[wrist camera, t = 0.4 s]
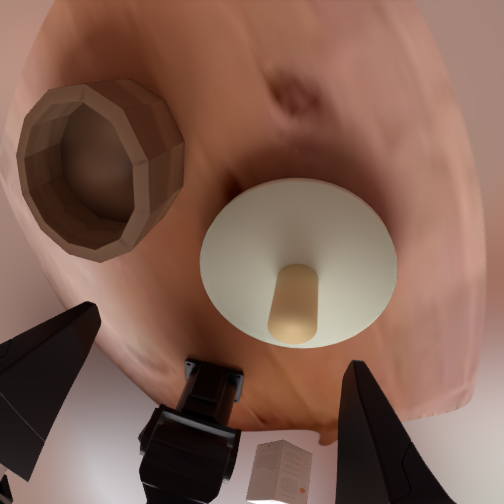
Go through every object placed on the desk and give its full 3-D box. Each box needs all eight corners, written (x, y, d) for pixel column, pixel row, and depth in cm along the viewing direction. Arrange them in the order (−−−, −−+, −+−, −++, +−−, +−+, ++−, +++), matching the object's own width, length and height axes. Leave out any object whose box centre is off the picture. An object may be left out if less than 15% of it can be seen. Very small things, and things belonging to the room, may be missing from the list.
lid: (357, 337, 25) (361, 402, 19) (208, 308, 26) (182, 368, 21) (415, 196, 18) (453, 248, 12) (215, 155, 19) (171, 191, 13)
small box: (256, 443, 41) (243, 500, 32) (283, 438, 38) (272, 500, 30) (287, 458, 43) (278, 510, 34) (313, 453, 41) (306, 509, 32)
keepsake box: (182, 239, 23) (154, 276, 19) (68, 216, 24) (33, 243, 20) (188, 77, 16) (150, 78, 12) (57, 87, 18) (12, 97, 13)
